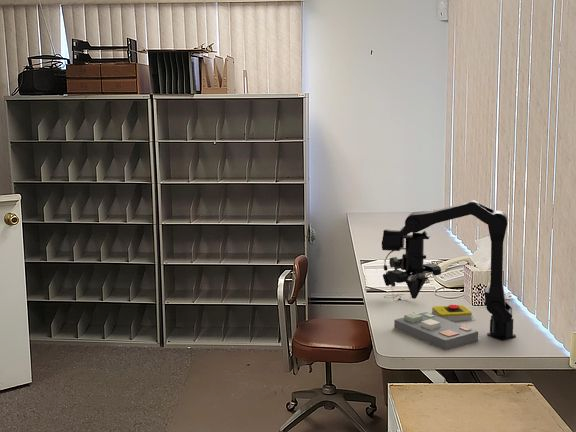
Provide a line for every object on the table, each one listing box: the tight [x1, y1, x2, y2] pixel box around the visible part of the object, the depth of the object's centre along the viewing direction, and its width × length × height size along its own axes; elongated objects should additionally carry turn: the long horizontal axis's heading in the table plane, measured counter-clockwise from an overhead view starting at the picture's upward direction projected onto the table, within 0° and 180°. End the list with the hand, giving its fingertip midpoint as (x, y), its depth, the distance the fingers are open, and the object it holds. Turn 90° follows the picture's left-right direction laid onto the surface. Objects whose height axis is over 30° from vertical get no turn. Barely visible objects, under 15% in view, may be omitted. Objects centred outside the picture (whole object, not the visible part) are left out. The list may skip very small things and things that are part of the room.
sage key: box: [403, 312, 423, 323], centre depth 218 cm, size 4×4×2 cm
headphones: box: [382, 247, 407, 302], centre depth 249 cm, size 15×11×20 cm
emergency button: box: [430, 304, 477, 323], centre depth 229 cm, size 9×4×15 cm
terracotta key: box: [439, 330, 459, 337], centre depth 205 cm, size 4×4×2 cm
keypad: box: [393, 311, 479, 351], centre depth 212 cm, size 23×14×3 cm, turn 32°
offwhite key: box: [421, 319, 440, 330], centre depth 211 cm, size 4×4×2 cm
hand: (413, 298), depth 217 cm, fingers closed
